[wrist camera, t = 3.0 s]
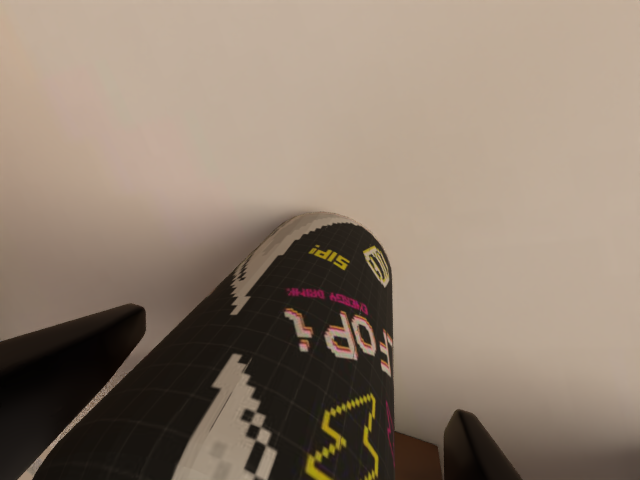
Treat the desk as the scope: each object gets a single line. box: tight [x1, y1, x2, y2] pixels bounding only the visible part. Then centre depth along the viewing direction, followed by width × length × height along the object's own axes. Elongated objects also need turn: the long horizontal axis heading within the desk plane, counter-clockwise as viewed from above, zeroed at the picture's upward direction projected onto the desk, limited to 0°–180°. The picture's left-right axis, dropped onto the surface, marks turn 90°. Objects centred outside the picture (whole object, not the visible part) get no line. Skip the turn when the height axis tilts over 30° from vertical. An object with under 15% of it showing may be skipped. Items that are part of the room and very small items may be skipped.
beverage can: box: [32, 212, 395, 480], centre depth 9 cm, size 6×6×12 cm
